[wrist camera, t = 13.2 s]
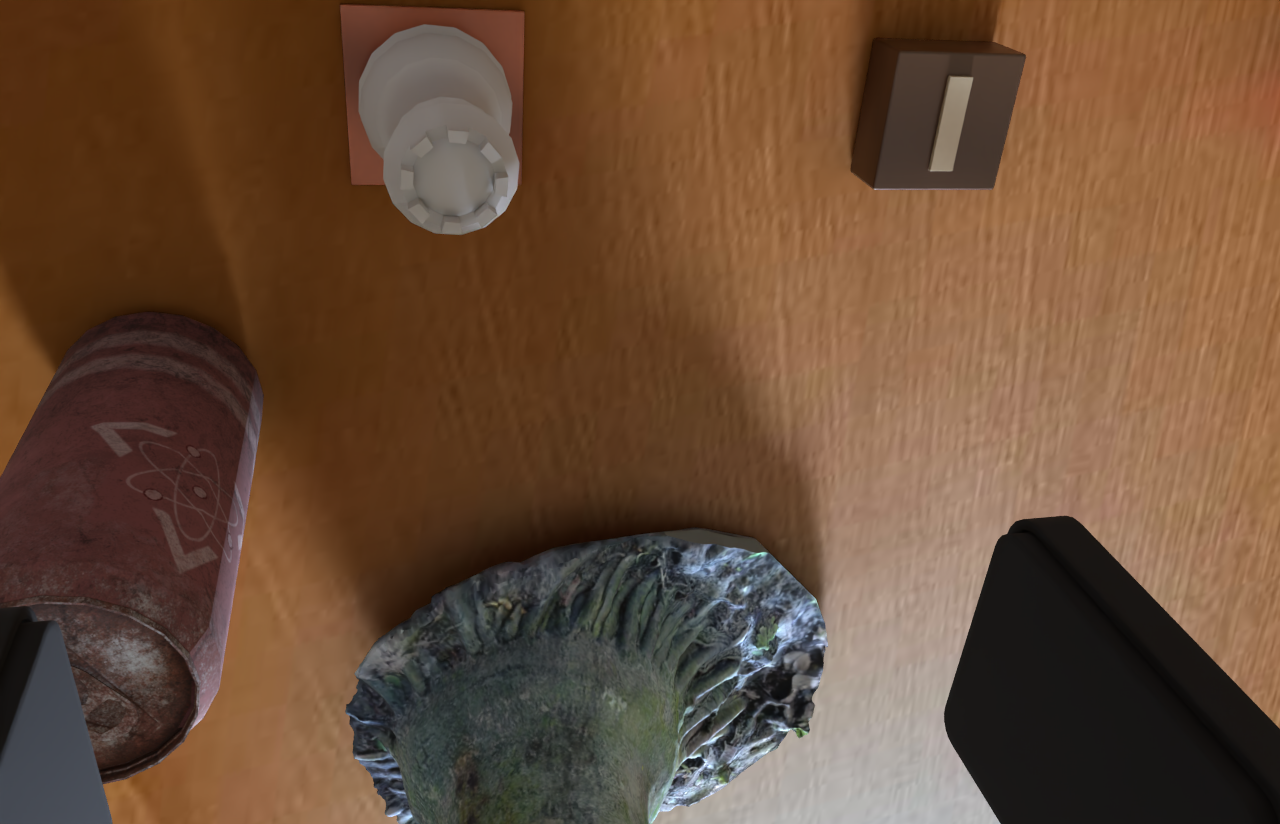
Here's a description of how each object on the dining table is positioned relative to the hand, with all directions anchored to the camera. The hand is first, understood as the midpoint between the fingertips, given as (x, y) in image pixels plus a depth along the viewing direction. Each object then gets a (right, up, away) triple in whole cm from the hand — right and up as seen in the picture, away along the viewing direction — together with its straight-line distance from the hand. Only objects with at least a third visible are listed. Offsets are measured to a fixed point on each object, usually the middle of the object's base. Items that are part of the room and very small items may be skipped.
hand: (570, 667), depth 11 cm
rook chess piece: (-5, +12, +21) cm, 25 cm away
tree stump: (-1, -9, +34) cm, 36 cm away
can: (-15, +3, +24) cm, 28 cm away
